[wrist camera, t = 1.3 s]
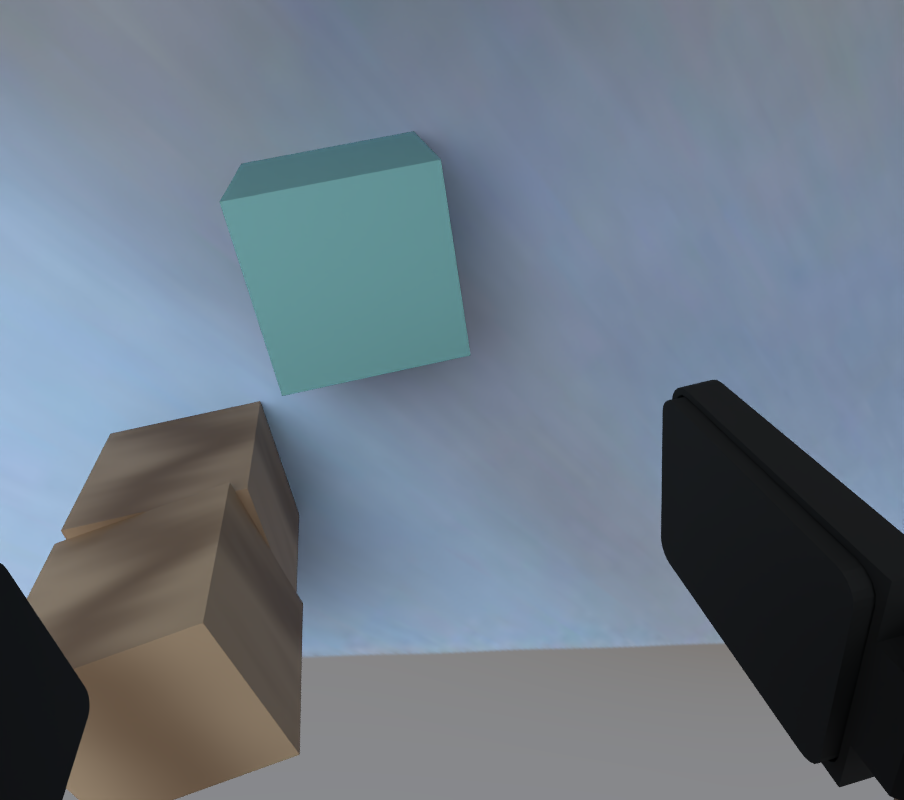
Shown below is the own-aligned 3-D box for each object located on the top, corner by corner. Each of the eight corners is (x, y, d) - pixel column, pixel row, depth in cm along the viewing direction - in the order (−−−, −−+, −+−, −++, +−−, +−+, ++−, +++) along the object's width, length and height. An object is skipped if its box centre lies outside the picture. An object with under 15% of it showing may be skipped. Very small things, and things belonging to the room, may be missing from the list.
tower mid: (229, 481, 22) (202, 622, 17) (302, 603, 25) (299, 754, 20) (54, 543, 22) (-28, 704, 16) (149, 657, 25) (105, 824, 20)
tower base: (260, 401, 27) (247, 488, 22) (299, 514, 30) (295, 614, 25) (110, 433, 27) (60, 530, 21) (164, 545, 30) (133, 653, 24)
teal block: (413, 130, 23) (440, 159, 18) (440, 291, 26) (470, 355, 21) (241, 163, 23) (219, 202, 18) (289, 323, 26) (282, 396, 21)
